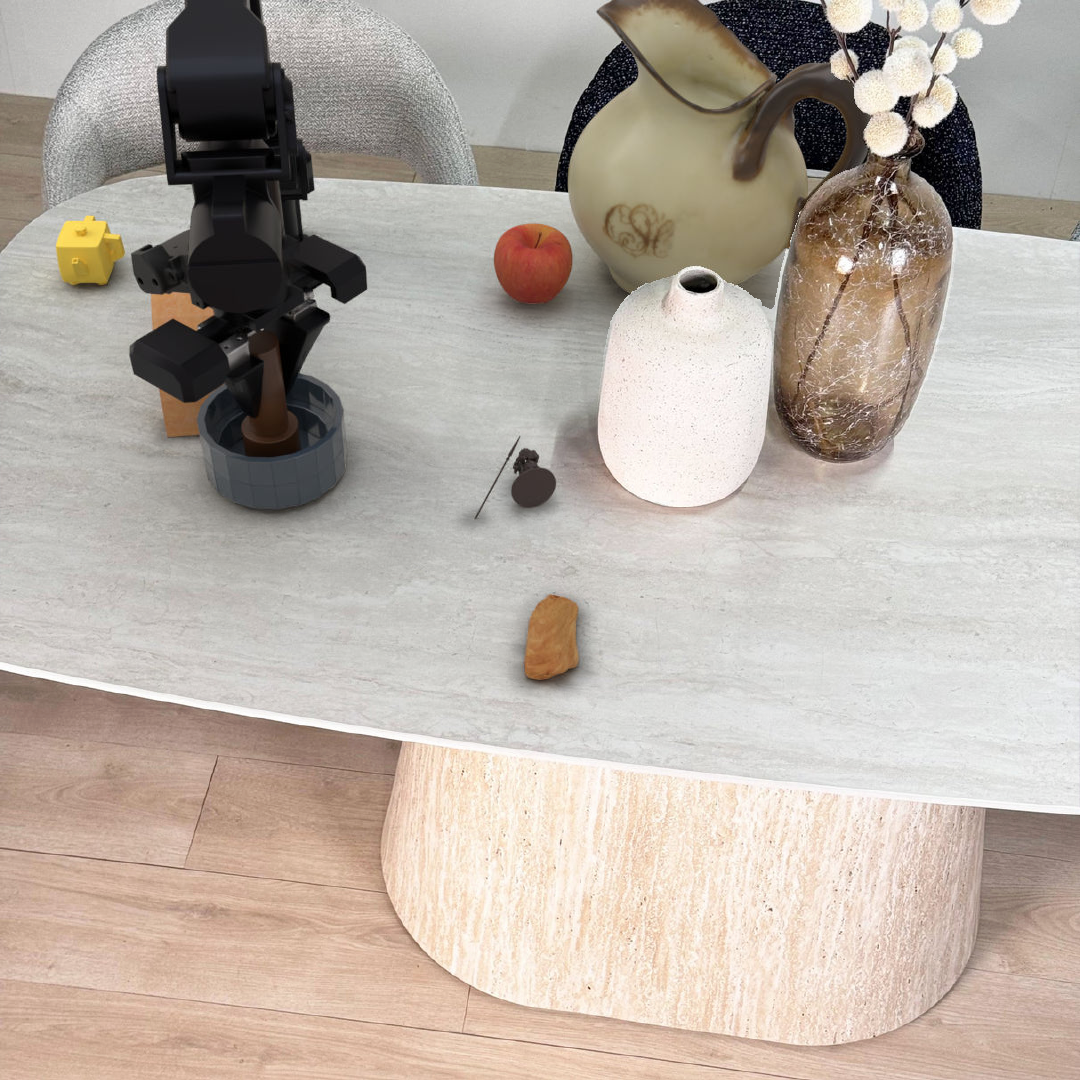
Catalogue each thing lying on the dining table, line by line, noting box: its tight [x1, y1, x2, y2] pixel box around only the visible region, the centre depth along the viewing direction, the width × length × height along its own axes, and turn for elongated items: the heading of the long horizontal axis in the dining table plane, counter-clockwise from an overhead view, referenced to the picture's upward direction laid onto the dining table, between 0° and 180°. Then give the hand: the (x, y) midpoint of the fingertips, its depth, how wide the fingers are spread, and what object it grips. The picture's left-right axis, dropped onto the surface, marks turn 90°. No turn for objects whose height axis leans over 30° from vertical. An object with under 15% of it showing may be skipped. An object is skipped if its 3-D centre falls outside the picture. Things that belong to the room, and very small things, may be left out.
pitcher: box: [567, 0, 871, 295], centre depth 117 cm, size 22×24×25 cm
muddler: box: [241, 329, 301, 457], centre depth 98 cm, size 4×4×11 cm
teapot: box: [55, 215, 126, 286], centre depth 119 cm, size 8×6×5 cm
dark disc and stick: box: [474, 435, 557, 520], centre depth 101 cm, size 5×8×4 cm
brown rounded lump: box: [523, 594, 580, 681], centre depth 90 cm, size 8×2×5 cm
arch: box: [150, 292, 225, 438], centre depth 109 cm, size 6×20×10 cm, turn 9°
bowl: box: [197, 372, 349, 510], centre depth 101 cm, size 11×11×6 cm
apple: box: [493, 222, 574, 305], centre depth 118 cm, size 7×7×8 cm
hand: (266, 404), depth 98 cm, fingers closed on muddler, 3 cm apart
